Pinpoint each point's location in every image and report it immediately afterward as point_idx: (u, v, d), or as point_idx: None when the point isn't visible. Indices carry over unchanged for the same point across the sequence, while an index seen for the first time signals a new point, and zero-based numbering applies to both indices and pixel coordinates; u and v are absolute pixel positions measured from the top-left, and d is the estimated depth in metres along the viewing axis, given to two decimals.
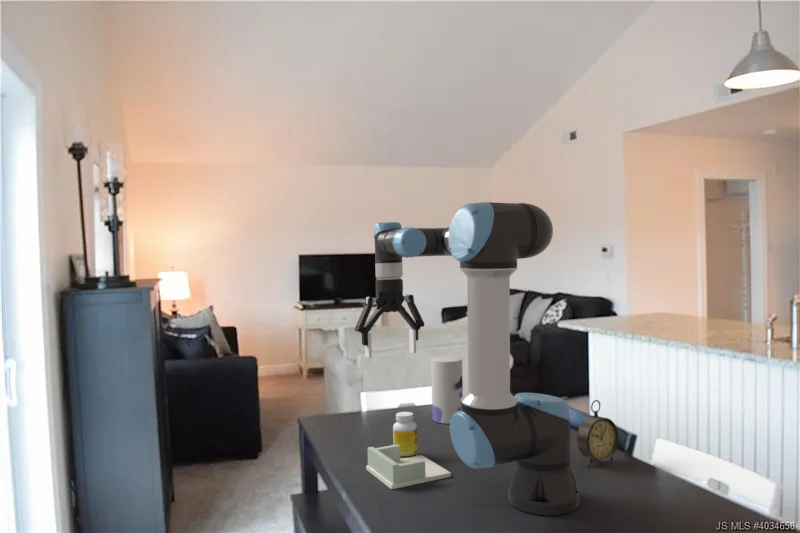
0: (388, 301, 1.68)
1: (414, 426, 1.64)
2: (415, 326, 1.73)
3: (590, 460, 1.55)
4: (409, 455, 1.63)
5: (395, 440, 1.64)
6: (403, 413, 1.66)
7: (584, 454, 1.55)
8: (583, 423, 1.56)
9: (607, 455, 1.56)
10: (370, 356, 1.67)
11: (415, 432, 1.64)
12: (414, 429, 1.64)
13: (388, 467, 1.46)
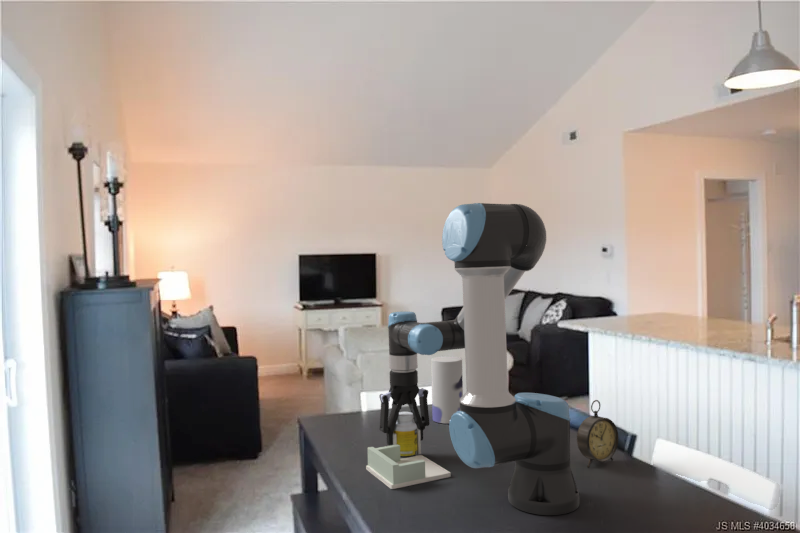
0: (402, 394, 1.63)
1: (414, 426, 1.64)
2: (420, 425, 1.66)
3: (590, 460, 1.55)
4: (409, 455, 1.63)
5: None
6: (403, 413, 1.66)
7: (584, 454, 1.55)
8: (583, 423, 1.56)
9: (607, 455, 1.56)
10: None
11: (415, 432, 1.64)
12: (414, 429, 1.64)
13: (388, 467, 1.46)
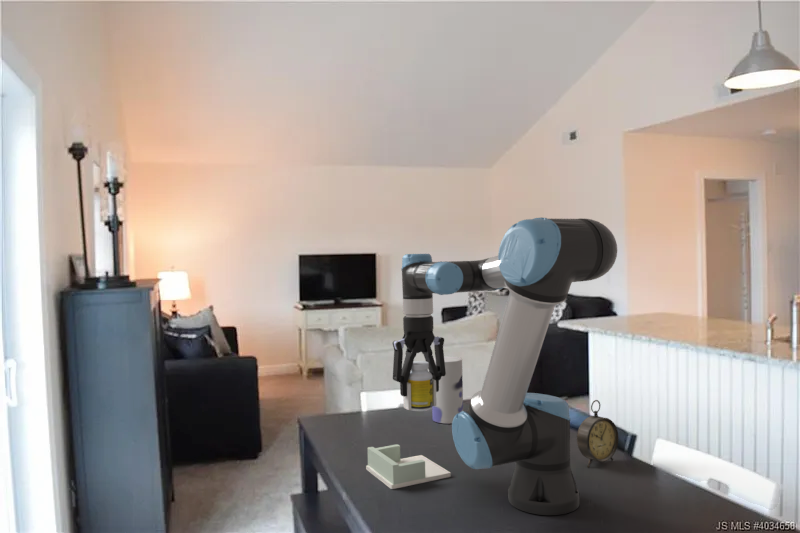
0: (417, 341, 1.52)
1: (430, 375, 1.53)
2: (436, 375, 1.56)
3: (590, 460, 1.55)
4: (423, 406, 1.52)
5: None
6: (418, 362, 1.55)
7: (584, 454, 1.55)
8: (583, 423, 1.56)
9: (607, 455, 1.56)
10: (410, 408, 1.52)
11: (430, 382, 1.53)
12: (430, 379, 1.53)
13: (388, 467, 1.46)
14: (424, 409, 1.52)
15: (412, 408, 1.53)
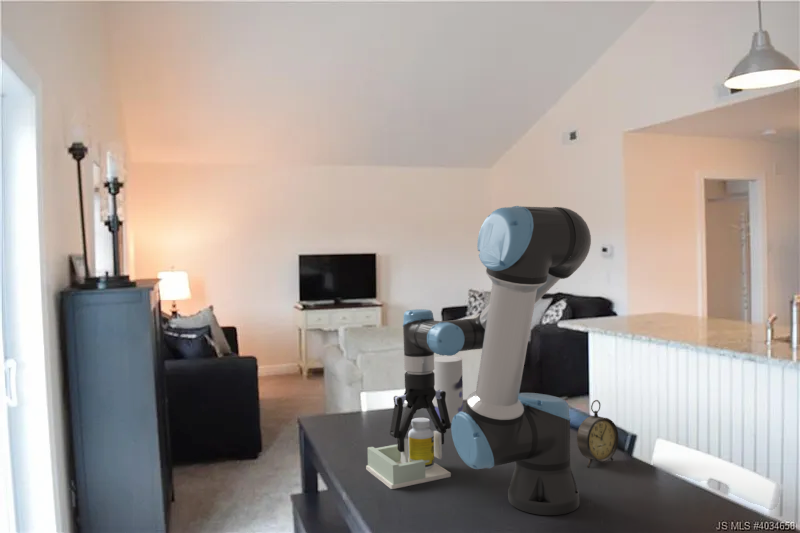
0: (418, 398, 1.53)
1: (431, 433, 1.54)
2: (441, 428, 1.56)
3: (590, 460, 1.55)
4: (425, 464, 1.52)
5: (411, 448, 1.54)
6: (419, 419, 1.56)
7: (584, 454, 1.55)
8: (583, 423, 1.56)
9: (607, 455, 1.56)
10: None
11: (432, 440, 1.54)
12: (431, 436, 1.53)
13: (388, 467, 1.46)
14: (426, 467, 1.53)
15: None
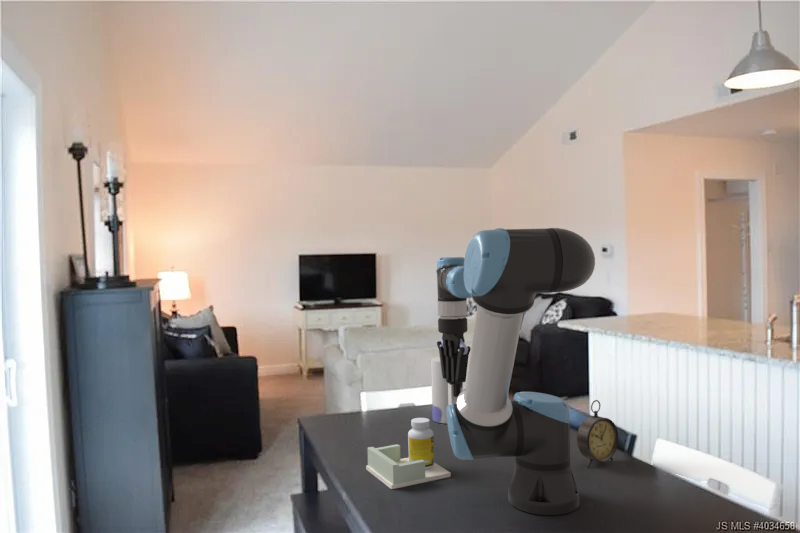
0: (443, 341, 1.59)
1: (431, 433, 1.54)
2: (452, 379, 1.58)
3: (590, 460, 1.55)
4: (425, 464, 1.52)
5: (410, 448, 1.54)
6: (419, 419, 1.56)
7: (584, 454, 1.55)
8: (583, 423, 1.56)
9: (607, 455, 1.56)
10: None
11: (432, 439, 1.54)
12: (431, 436, 1.53)
13: (388, 467, 1.46)
14: (426, 467, 1.53)
15: None
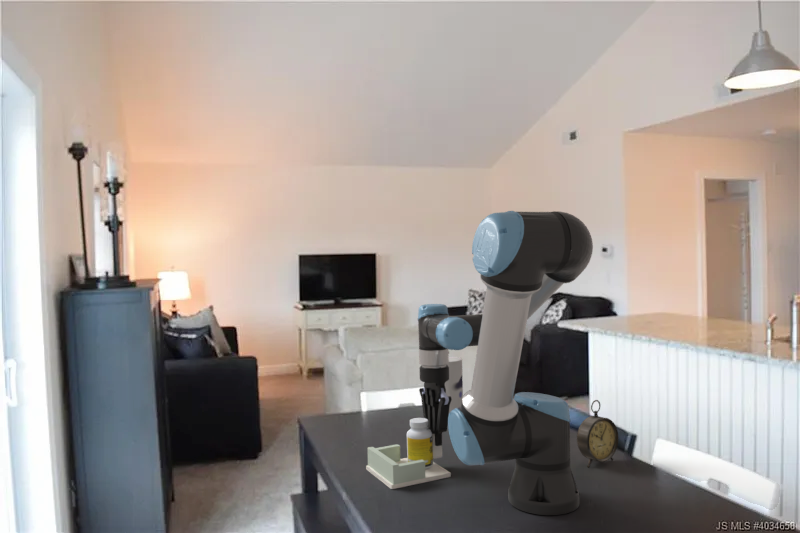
0: (425, 389, 1.57)
1: (429, 433, 1.54)
2: (433, 428, 1.56)
3: (590, 460, 1.55)
4: None
5: (409, 448, 1.53)
6: (417, 419, 1.56)
7: (584, 454, 1.55)
8: (583, 423, 1.56)
9: (607, 455, 1.56)
10: None
11: (430, 440, 1.54)
12: (429, 436, 1.53)
13: (388, 467, 1.46)
14: None
15: None
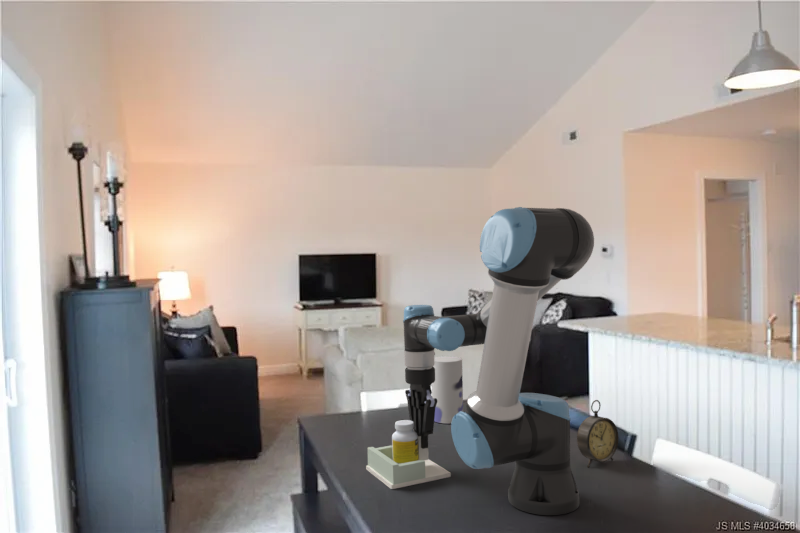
0: (411, 391, 1.56)
1: (415, 436, 1.52)
2: (419, 431, 1.54)
3: (590, 460, 1.55)
4: None
5: (394, 451, 1.52)
6: (403, 422, 1.54)
7: (584, 454, 1.55)
8: (583, 423, 1.56)
9: (607, 455, 1.56)
10: None
11: (416, 442, 1.52)
12: (415, 439, 1.51)
13: (388, 467, 1.46)
14: None
15: None
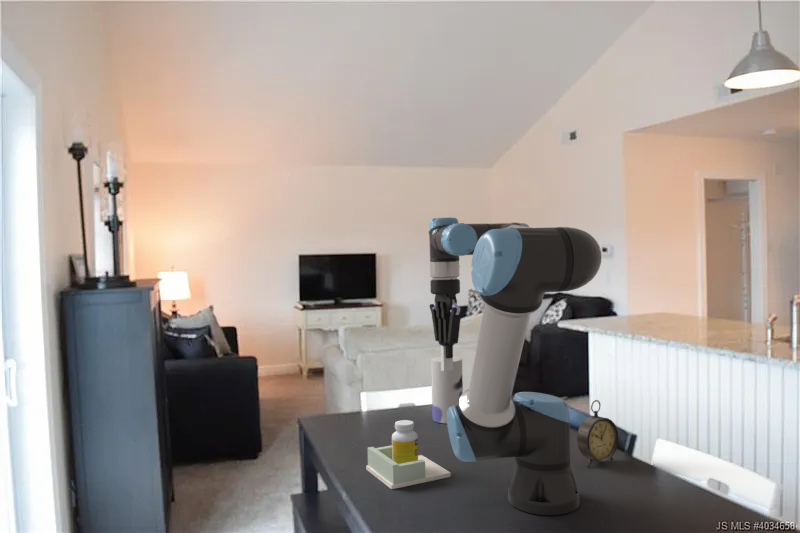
0: (436, 302, 1.58)
1: (414, 436, 1.52)
2: (444, 341, 1.57)
3: (590, 460, 1.55)
4: None
5: (394, 451, 1.52)
6: (403, 422, 1.54)
7: (584, 454, 1.55)
8: (583, 423, 1.56)
9: (607, 455, 1.56)
10: (441, 369, 1.58)
11: (415, 442, 1.52)
12: (414, 439, 1.52)
13: (388, 467, 1.46)
14: None
15: None
